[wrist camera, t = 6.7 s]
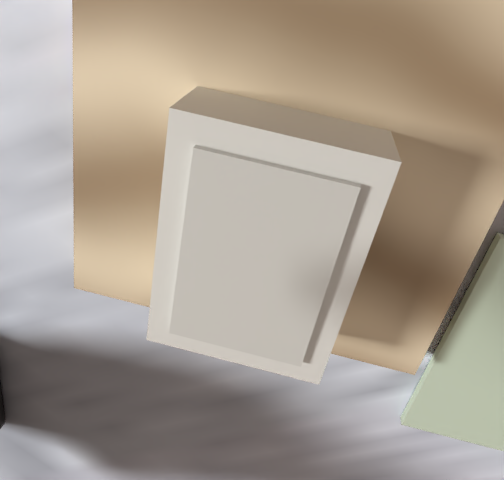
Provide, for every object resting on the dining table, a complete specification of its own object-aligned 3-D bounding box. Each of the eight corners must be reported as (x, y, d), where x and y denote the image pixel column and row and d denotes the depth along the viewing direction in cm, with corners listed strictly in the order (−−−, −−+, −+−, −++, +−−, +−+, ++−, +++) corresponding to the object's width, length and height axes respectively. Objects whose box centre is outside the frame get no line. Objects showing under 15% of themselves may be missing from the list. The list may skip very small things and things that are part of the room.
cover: (321, 330, 18) (318, 390, 16) (171, 292, 18) (143, 344, 16) (390, 130, 14) (402, 165, 12) (197, 86, 14) (166, 110, 12)
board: (409, 348, 20) (414, 375, 18) (90, 268, 20) (74, 287, 19) (829, -519, 9) (914, -605, 7) (105, -636, 9) (68, -735, 8)
